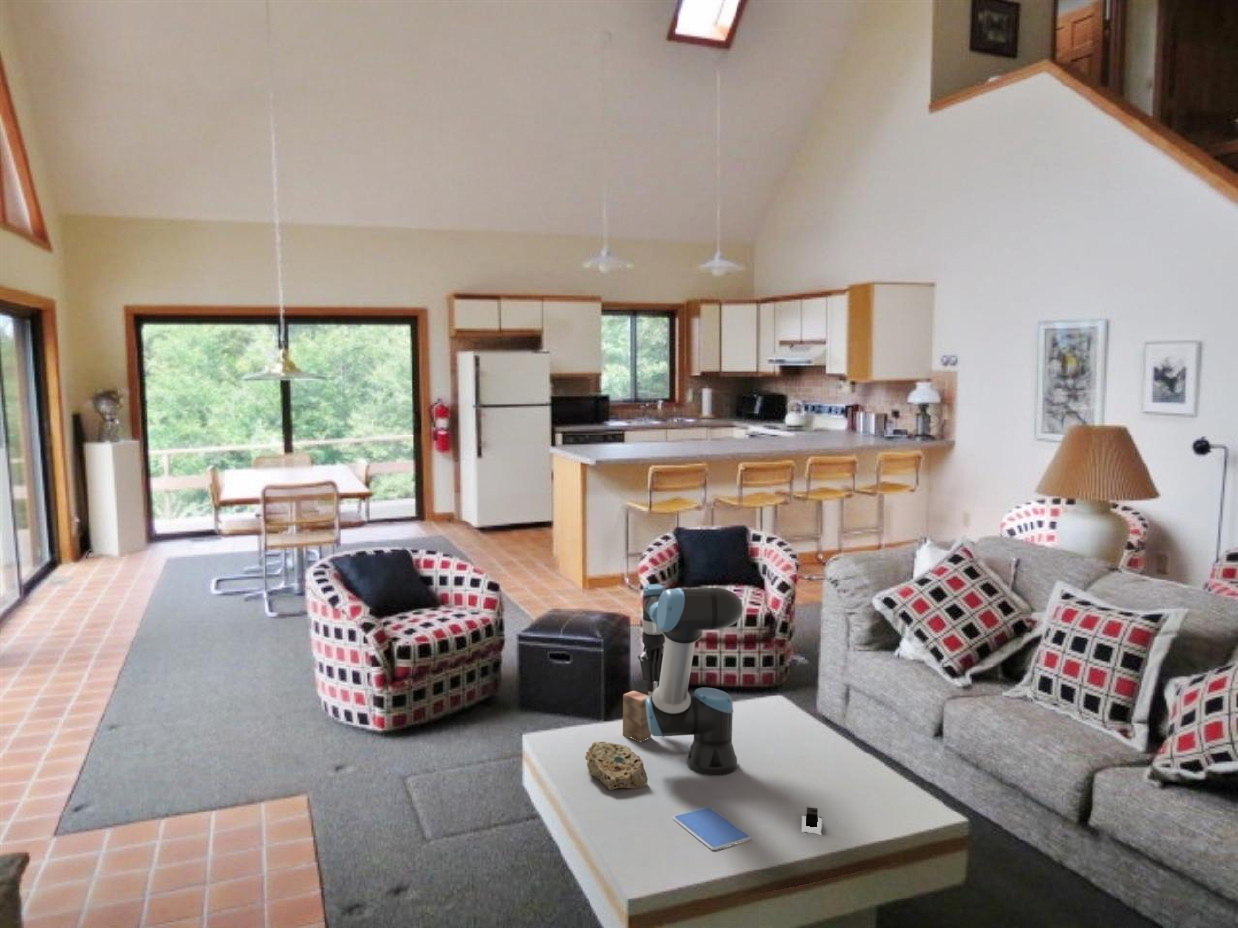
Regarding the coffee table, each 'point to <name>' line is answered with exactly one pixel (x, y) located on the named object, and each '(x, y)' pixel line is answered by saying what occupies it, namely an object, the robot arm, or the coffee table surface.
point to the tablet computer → (711, 828)
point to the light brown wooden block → (635, 716)
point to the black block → (812, 817)
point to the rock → (616, 765)
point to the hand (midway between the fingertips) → (652, 699)
